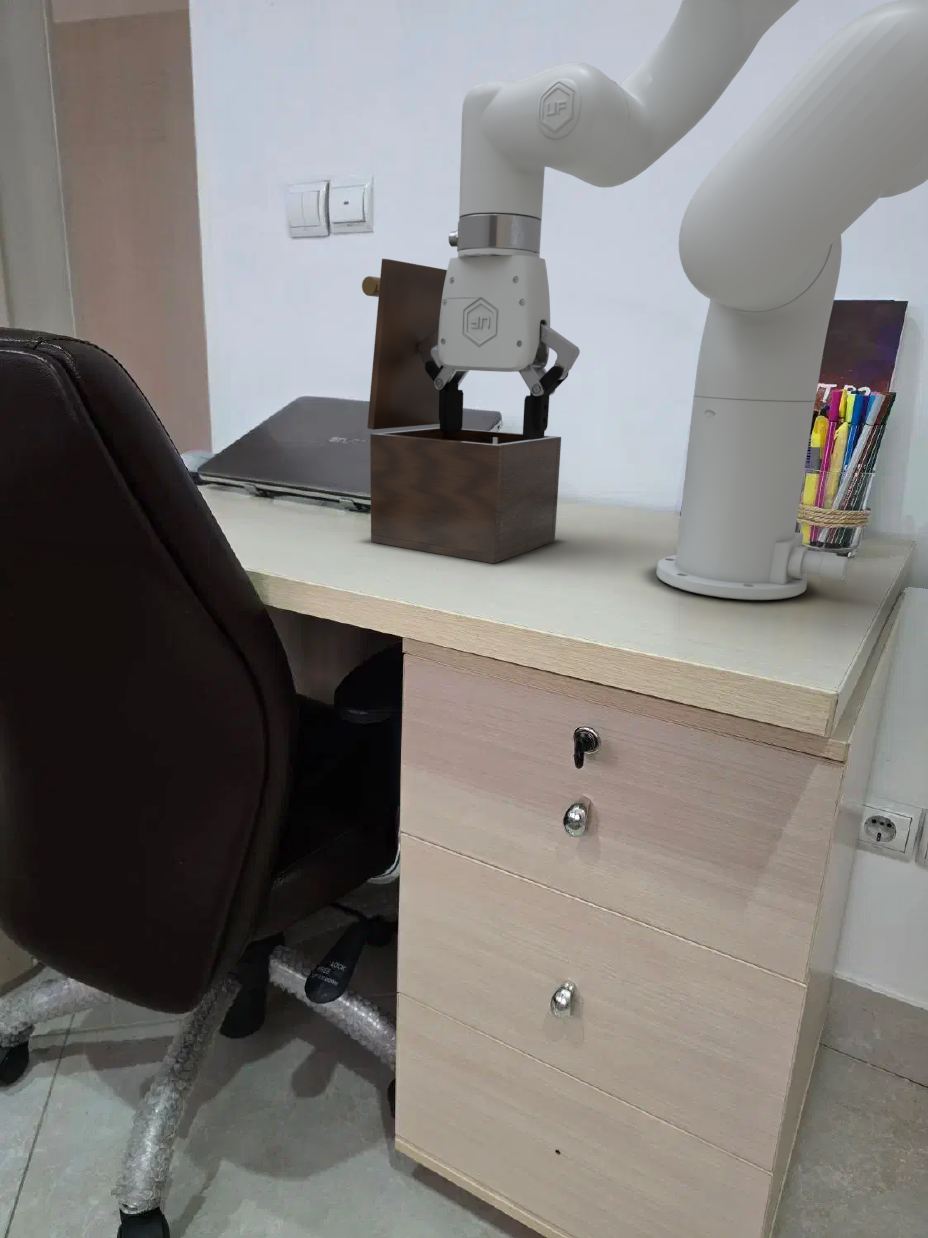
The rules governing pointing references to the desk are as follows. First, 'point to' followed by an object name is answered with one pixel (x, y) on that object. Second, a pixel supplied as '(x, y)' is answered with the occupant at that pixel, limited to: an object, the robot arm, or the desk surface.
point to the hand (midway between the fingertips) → (491, 434)
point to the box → (464, 492)
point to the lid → (403, 344)
